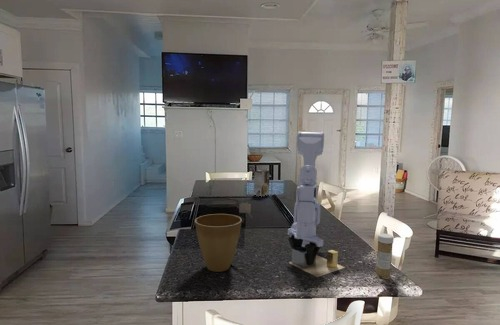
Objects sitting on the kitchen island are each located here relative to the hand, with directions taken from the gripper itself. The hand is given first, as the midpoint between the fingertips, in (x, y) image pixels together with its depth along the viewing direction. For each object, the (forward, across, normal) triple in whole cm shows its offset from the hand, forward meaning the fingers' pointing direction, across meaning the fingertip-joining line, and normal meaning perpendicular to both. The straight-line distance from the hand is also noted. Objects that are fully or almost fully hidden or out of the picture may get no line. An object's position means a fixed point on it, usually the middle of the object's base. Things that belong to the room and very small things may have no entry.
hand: (303, 261), depth 116 cm
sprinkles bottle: (+2, +19, +16) cm, 25 cm away
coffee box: (+2, -96, +57) cm, 112 cm away
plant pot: (+2, -15, -24) cm, 28 cm away
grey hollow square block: (+1, 0, 0) cm, 1 cm away
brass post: (+2, +6, +6) cm, 9 cm away
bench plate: (+2, +3, +3) cm, 5 cm away
